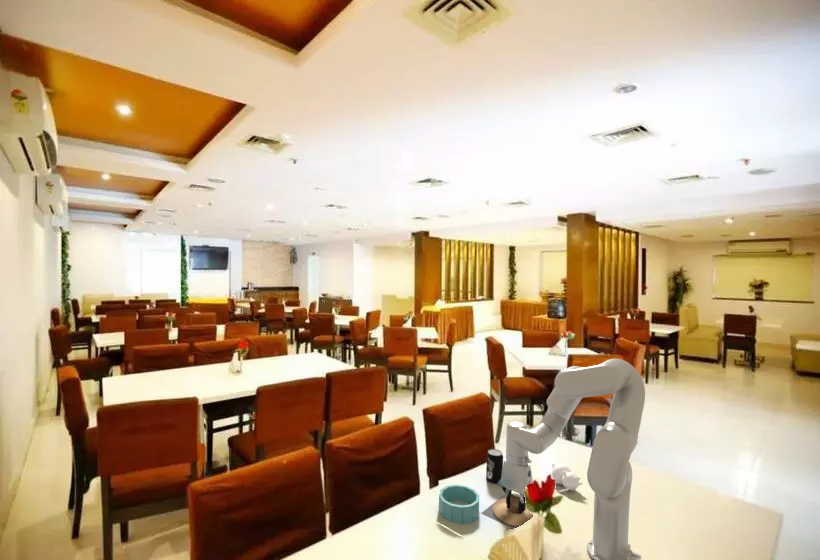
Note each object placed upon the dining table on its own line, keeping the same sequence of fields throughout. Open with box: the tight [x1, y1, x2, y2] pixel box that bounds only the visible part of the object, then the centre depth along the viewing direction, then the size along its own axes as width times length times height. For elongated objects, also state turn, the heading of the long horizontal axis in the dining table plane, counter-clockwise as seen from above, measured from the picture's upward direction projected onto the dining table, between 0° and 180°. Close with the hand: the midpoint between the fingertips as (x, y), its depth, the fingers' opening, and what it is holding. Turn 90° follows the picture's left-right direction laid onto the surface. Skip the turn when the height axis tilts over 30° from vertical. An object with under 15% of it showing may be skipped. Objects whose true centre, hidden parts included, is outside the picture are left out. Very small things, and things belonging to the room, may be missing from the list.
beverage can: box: [485, 448, 504, 485], centre depth 164 cm, size 7×7×12 cm
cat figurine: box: [551, 462, 583, 493], centre depth 161 cm, size 9×11×12 cm
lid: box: [492, 492, 533, 527], centre depth 142 cm, size 16×16×6 cm
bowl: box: [438, 484, 480, 525], centre depth 142 cm, size 14×14×6 cm
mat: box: [481, 494, 517, 529], centre depth 142 cm, size 17×17×1 cm
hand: (515, 508), depth 142 cm, fingers closed on lid, 4 cm apart
